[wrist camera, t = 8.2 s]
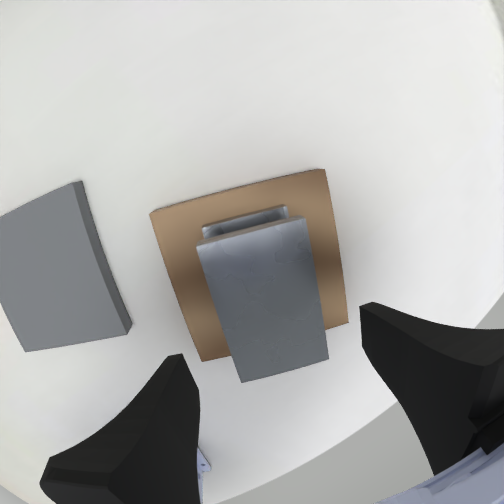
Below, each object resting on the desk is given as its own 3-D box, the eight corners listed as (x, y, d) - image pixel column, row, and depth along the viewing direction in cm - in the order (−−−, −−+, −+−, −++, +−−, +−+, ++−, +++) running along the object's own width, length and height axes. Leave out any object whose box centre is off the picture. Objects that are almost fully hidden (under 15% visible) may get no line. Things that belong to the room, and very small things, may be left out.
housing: (306, 317, 21) (329, 358, 16) (236, 336, 20) (241, 382, 16) (283, 203, 18) (305, 218, 13) (202, 224, 18) (195, 246, 13)
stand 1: (132, 324, 21) (127, 334, 20) (32, 343, 21) (25, 352, 19) (81, 181, 18) (72, 182, 16) (-15, 227, 18) (-26, 231, 16)
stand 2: (341, 313, 22) (348, 322, 21) (202, 350, 22) (201, 361, 21) (317, 168, 19) (325, 169, 18) (154, 210, 19) (149, 214, 18)
